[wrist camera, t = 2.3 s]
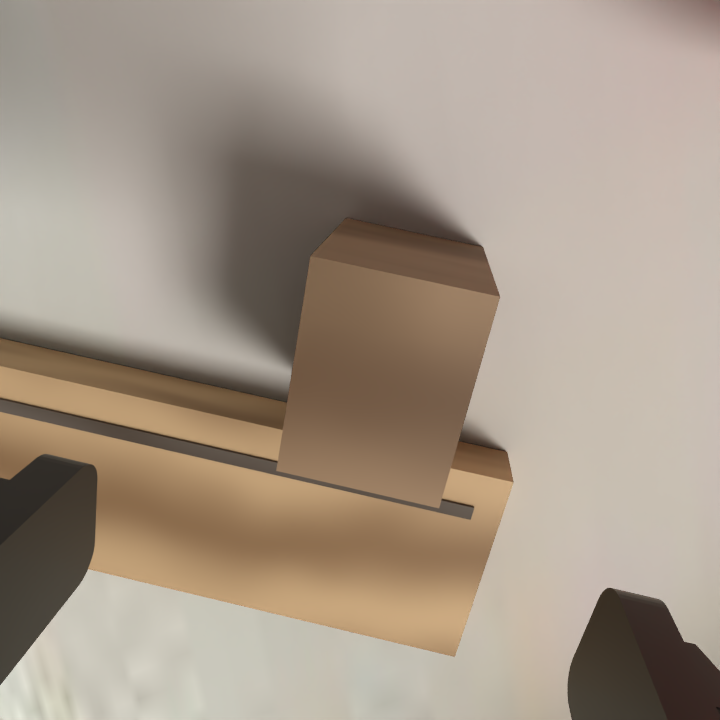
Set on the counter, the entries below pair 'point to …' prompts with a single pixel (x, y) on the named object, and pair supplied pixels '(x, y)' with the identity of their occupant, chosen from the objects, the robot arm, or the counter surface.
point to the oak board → (249, 502)
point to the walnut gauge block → (386, 360)
